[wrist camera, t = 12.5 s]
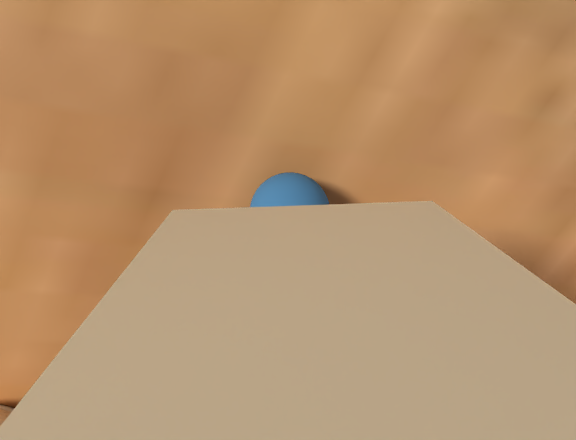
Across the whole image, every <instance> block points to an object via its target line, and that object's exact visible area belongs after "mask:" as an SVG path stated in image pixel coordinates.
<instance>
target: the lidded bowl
mask: <svg viewBox="0 0 576 440" xmlns="http://www.w3.org/2000/svg"><path fill="white" fill-rule="evenodd" d="M13 410H14V408H12V407H9V406H5V405H0V426H1V425H2V424H3V422H4V421H5V420H6V419H7V417H8V416H9V415H10V414H11V412H12V411H13Z"/></svg>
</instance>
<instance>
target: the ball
mask: <svg viewBox="0 0 576 440" xmlns="http://www.w3.org/2000/svg"><path fill="white" fill-rule="evenodd" d="M301 205H329V201H328V198H327V196H326V194H325V192H324V191H323V189H322V188H321V187H320V185H319V184H318V183H316V182H315V181H314V180H312V179H311V178H309V177H307V176H305V175H302V174H298V173H281V174H278V175H275V176H273V177H271V178H269V179H267V180H266V181H265V182H264V183H262V184H261V185H260V187H259V188H258V189H257V190H256V192H255V194H254V196H253V198H252V201H251V205H250V207H272V206H301Z"/></svg>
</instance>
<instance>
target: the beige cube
mask: <svg viewBox="0 0 576 440" xmlns="http://www.w3.org/2000/svg"><path fill="white" fill-rule="evenodd" d="M0 440H576V304H575V303H573V302H572V301H570V300H569V299H568V298H566V297H565V296H564V295H562V294H561V293H559V292H558V291H557V290H555V289H554V288H552V287H551V286H550V285H548V284H547V283H545V282H544V281H543V280H541V279H540V278H539V277H537V276H536V275H534V274H533V273H532V272H530V271H529V270H527V269H526V268H525V267H523V266H522V265H520V264H519V263H518V262H516V261H515V260H513V259H512V258H511V257H509V256H508V255H507V254H505V253H504V252H502V251H501V250H500V249H498V248H497V247H495V246H494V245H493V244H491V243H490V242H488V241H487V240H486V239H484V238H483V237H482V236H480V235H479V234H477V233H476V232H475V231H473V230H472V229H470V228H469V227H468V226H466V225H465V224H463V223H462V222H461V221H459V220H458V219H457V218H455V217H454V216H452V215H451V214H450V213H448V212H447V211H445V210H444V209H443V208H441V207H440V206H438V205H437V204H436V203H434V202H433V201H417V202H388V203H359V204H330V205H301V206H272V207H244V208H215V209H186V210H172V212H171V213H170V214H169V215H168V217H167V218H166V219H165V220H164V222H163V223H162V224H161V225H160V227H159V228H158V229H157V230H156V232H155V233H154V234H153V235H152V237H151V238H150V239H149V240H148V242H147V243H146V244H145V245H144V247H143V248H142V249H141V250H140V252H139V253H138V254H137V255H136V257H135V258H134V259H133V260H132V262H131V263H130V264H129V265H128V267H127V268H126V269H125V270H124V272H123V273H122V274H121V275H120V277H119V278H118V279H117V281H116V282H115V283H114V284H113V286H112V287H111V288H110V289H109V291H108V292H107V293H106V294H105V296H104V297H103V298H102V299H101V301H100V302H99V303H98V304H97V306H96V307H95V308H94V309H93V311H92V312H91V313H90V314H89V316H88V317H87V318H86V319H85V321H84V322H83V323H82V324H81V326H80V327H79V328H78V329H77V331H76V332H75V333H74V334H73V336H72V337H71V338H70V339H69V341H68V342H67V343H66V344H65V346H64V347H63V348H62V350H61V351H60V352H59V353H58V355H57V356H56V357H55V358H54V360H53V361H52V362H51V363H50V365H49V366H48V367H47V368H46V370H45V371H44V372H43V373H42V375H41V376H40V377H39V378H38V380H37V381H36V382H35V383H34V385H33V386H32V387H31V388H30V390H29V391H28V392H27V393H26V395H25V396H24V397H23V398H22V400H21V401H20V402H19V403H18V405H17V406H16V407H15V408H14V410H13V411H12V412H11V414H10V415H9V416H8V417H7V419H6V420H5V421H4V422H3V424H2V425H1V426H0Z"/></svg>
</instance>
